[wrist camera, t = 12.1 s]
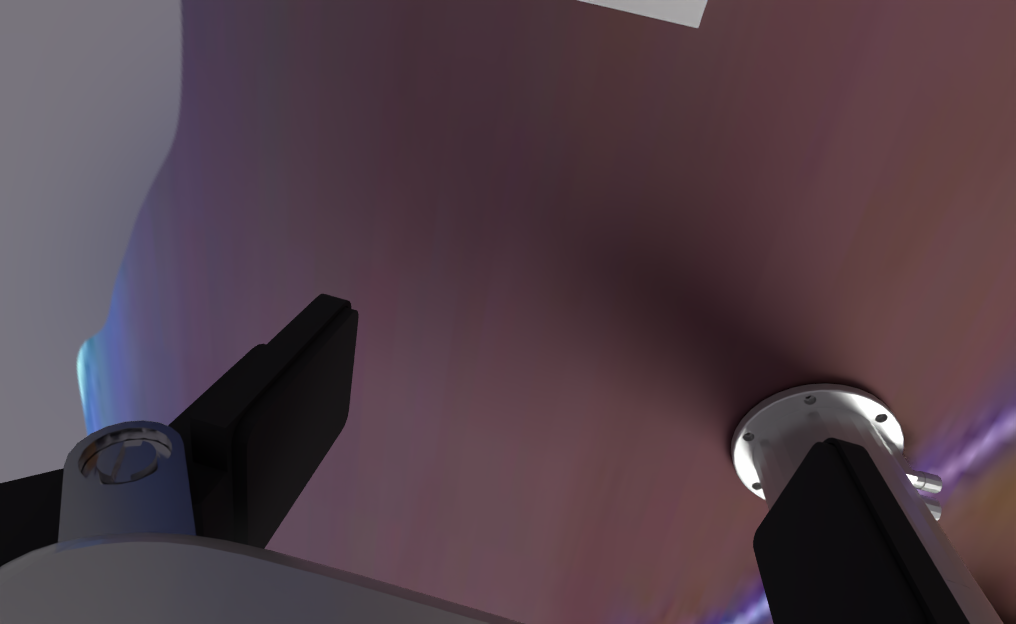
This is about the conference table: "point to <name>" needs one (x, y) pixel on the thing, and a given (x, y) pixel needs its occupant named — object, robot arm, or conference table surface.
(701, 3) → the shelf
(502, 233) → the conference table surface
